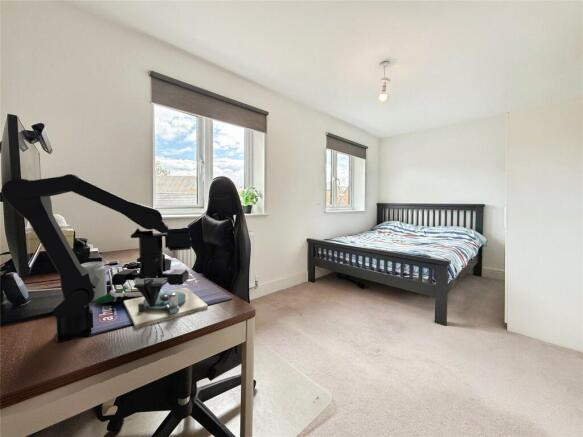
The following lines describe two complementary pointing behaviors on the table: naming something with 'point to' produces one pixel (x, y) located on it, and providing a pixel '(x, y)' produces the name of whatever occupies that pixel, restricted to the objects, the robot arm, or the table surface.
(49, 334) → the table surface
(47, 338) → the table surface
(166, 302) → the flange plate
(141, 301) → the post base
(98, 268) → the can
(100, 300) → the green irregular piece
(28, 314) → the table surface
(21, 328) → the table surface
